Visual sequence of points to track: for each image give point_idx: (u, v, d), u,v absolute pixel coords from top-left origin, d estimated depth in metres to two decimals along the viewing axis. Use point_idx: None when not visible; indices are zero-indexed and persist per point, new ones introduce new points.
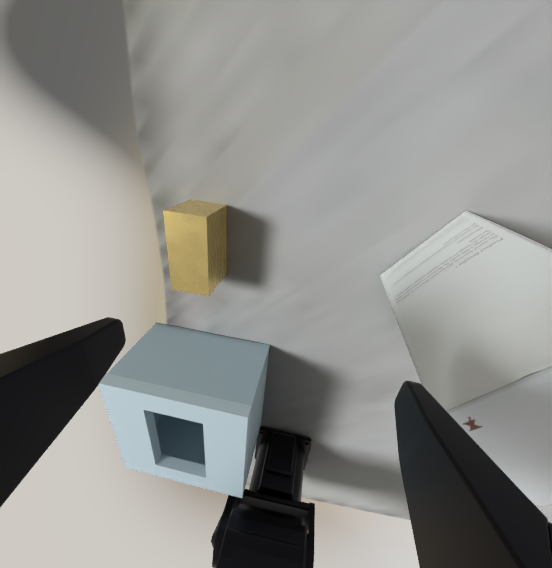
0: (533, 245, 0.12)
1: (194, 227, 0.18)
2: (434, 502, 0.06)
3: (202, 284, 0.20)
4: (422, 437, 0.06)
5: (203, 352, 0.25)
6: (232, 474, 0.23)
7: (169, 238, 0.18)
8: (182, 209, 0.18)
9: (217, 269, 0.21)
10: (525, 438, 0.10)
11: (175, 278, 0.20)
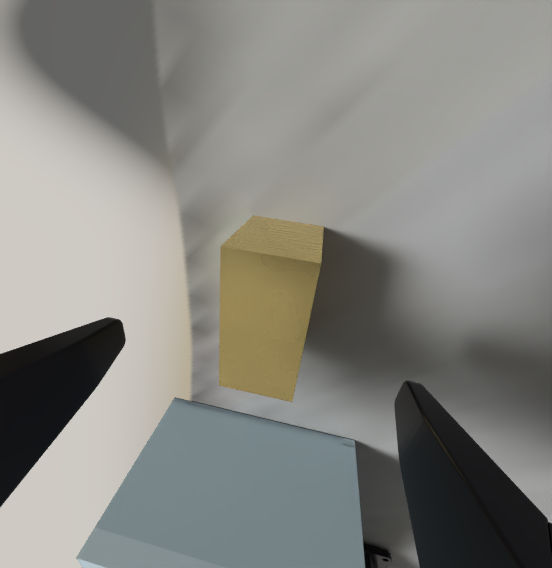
0: None
1: (288, 284, 0.08)
2: (434, 502, 0.06)
3: (283, 383, 0.10)
4: (422, 437, 0.06)
5: (256, 462, 0.15)
6: None
7: (226, 301, 0.09)
8: (257, 241, 0.09)
9: None
10: None
11: (229, 369, 0.10)
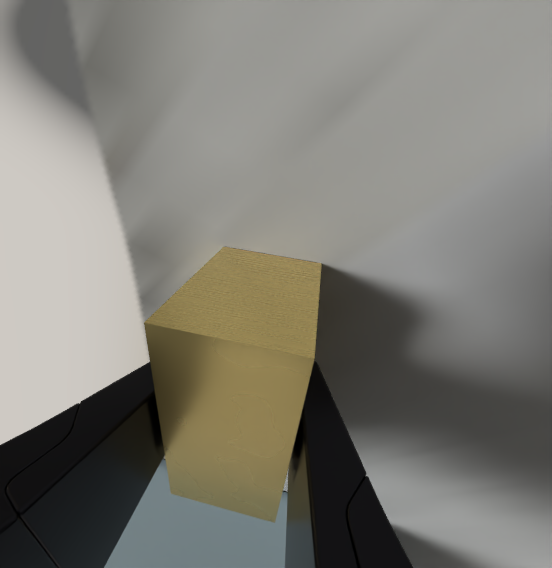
0: None
1: (259, 384, 0.05)
2: (295, 466, 0.06)
3: (260, 502, 0.07)
4: None
5: (236, 551, 0.12)
6: None
7: (165, 398, 0.06)
8: (213, 304, 0.05)
9: None
10: None
11: (182, 478, 0.07)
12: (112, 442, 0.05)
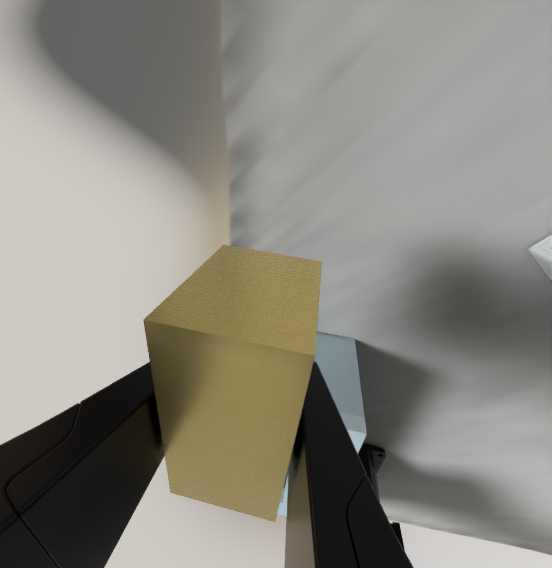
0: None
1: (259, 381, 0.05)
2: (295, 466, 0.06)
3: (260, 500, 0.07)
4: None
5: None
6: None
7: (164, 397, 0.06)
8: (213, 301, 0.05)
9: None
10: None
11: (182, 477, 0.07)
12: (112, 442, 0.05)
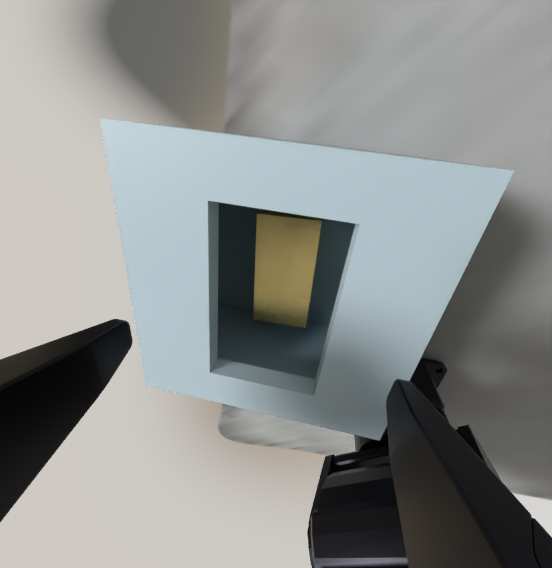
0: None
1: (301, 237, 0.12)
2: (422, 499, 0.06)
3: (299, 313, 0.14)
4: (411, 434, 0.06)
5: None
6: (381, 381, 0.11)
7: (259, 252, 0.13)
8: None
9: None
10: None
11: (260, 305, 0.15)
12: None
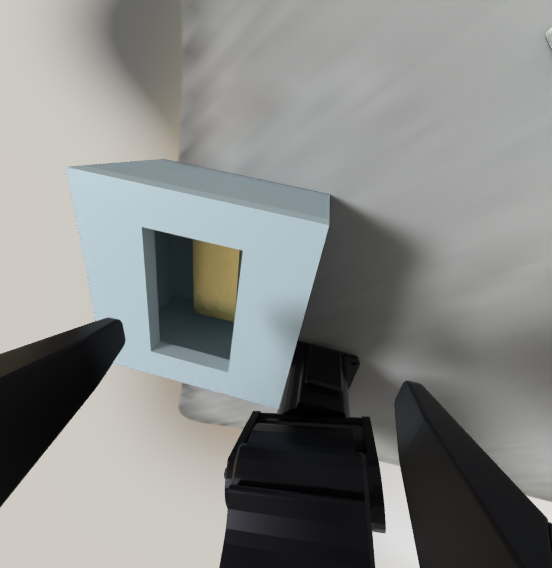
0: None
1: (225, 251, 0.16)
2: (434, 502, 0.06)
3: (228, 309, 0.18)
4: (422, 437, 0.06)
5: (236, 181, 0.16)
6: (272, 362, 0.15)
7: (196, 261, 0.17)
8: None
9: None
10: None
11: (199, 302, 0.19)
12: None
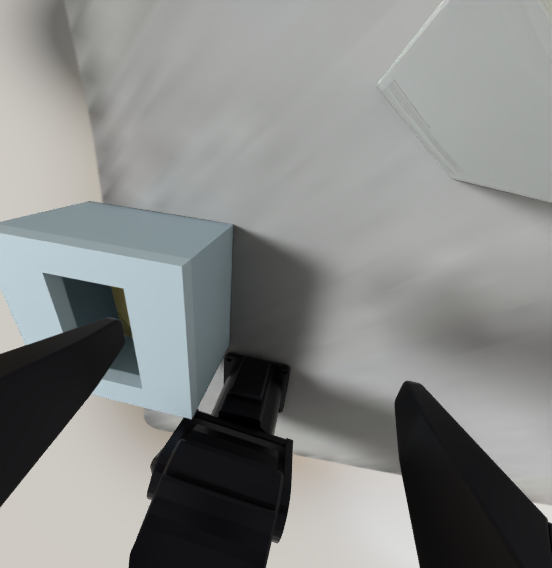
0: None
1: None
2: (434, 502, 0.06)
3: None
4: (422, 437, 0.06)
5: (141, 221, 0.18)
6: (174, 378, 0.17)
7: (114, 291, 0.19)
8: None
9: None
10: None
11: (125, 326, 0.21)
12: None
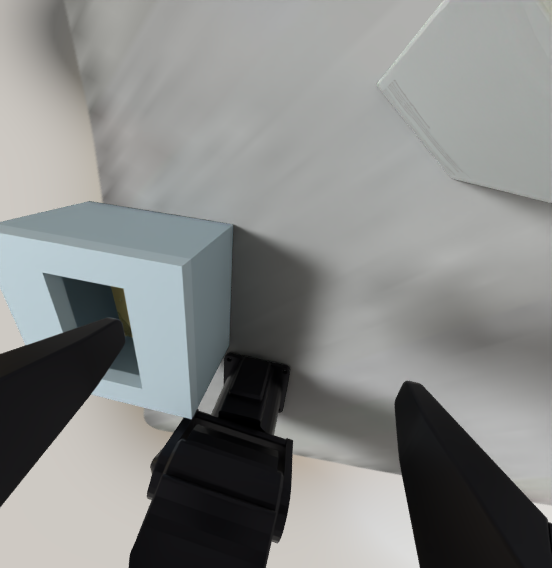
0: None
1: None
2: (434, 502, 0.06)
3: None
4: (422, 437, 0.06)
5: (141, 221, 0.18)
6: (174, 378, 0.17)
7: (114, 291, 0.19)
8: None
9: None
10: None
11: (125, 326, 0.21)
12: None
